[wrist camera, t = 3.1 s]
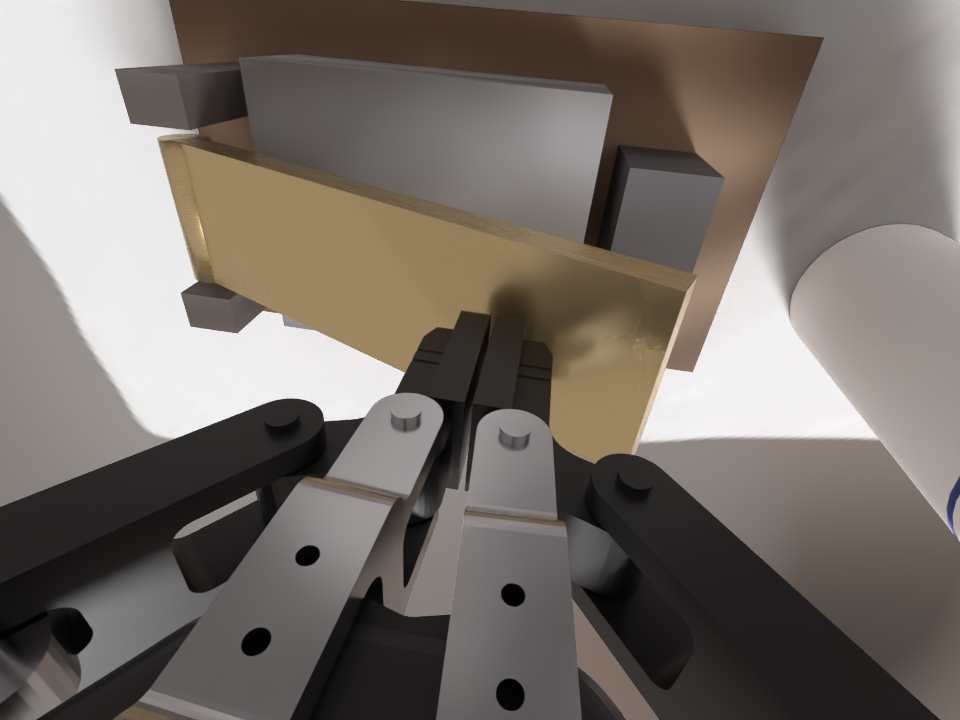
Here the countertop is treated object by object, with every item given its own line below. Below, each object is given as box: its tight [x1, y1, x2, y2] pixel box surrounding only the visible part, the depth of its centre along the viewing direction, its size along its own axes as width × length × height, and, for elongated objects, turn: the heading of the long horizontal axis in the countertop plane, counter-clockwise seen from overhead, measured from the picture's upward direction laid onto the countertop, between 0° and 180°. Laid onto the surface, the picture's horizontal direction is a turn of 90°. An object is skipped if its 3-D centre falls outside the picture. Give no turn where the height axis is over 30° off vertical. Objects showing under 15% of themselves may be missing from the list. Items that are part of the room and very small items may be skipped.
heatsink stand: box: [115, 0, 824, 372], centre depth 20 cm, size 14×24×9 cm, turn 86°
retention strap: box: [157, 134, 698, 463], centre depth 15 cm, size 5×18×2 cm, turn 86°
